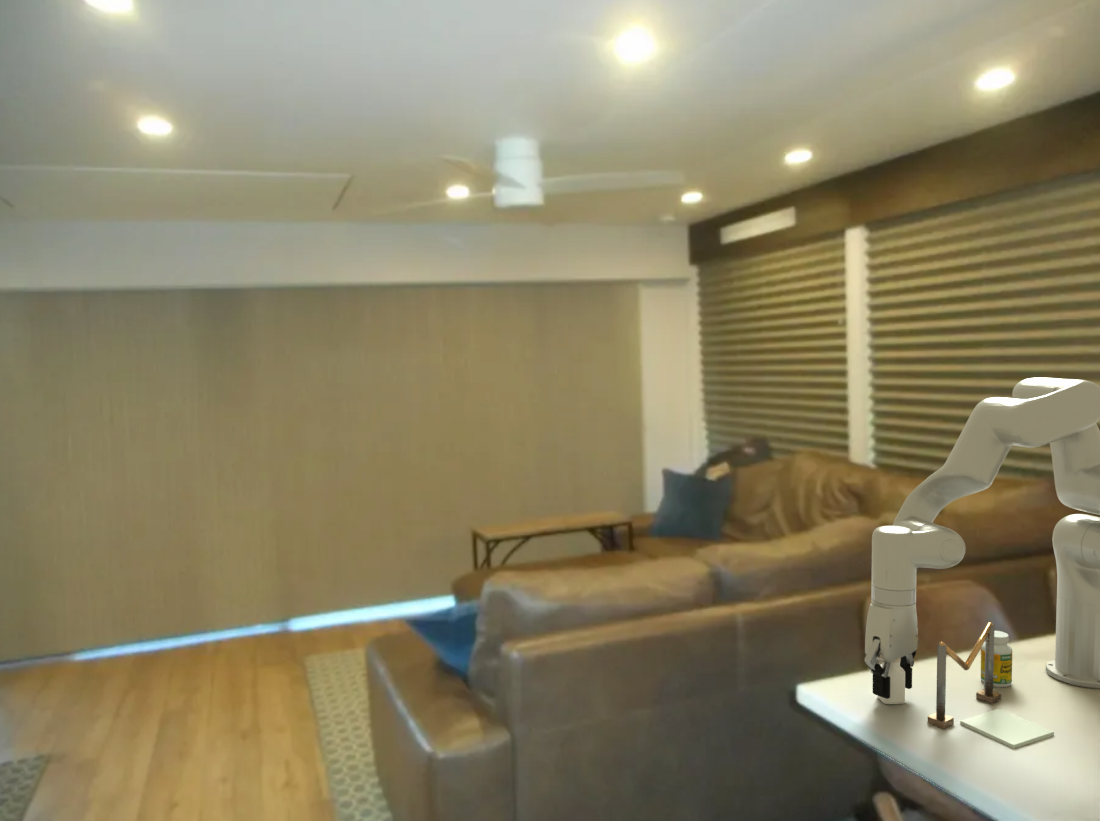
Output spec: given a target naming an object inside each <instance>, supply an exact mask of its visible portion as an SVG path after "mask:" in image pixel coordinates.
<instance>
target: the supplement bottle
mask: <svg viewBox="0 0 1100 821" xmlns="http://www.w3.org/2000/svg"><path fill="white" fill-rule="evenodd" d="M1009 636H1010V635H1009V634H1008V632H1007V633H1006V632H1004V631H1002V630H1001V631H1000V630H994V670H993V688H1006V687H1007V688H1008V687H1010V686H1011V685H1012V682H1013V648H1012V646H1011V645H1010V644H1009V642H1010V641H1009V640H1010V637H1009ZM980 680H981V681H982V683H984V684H985V642H984V643H983V645H982V647H981V649H980Z"/></svg>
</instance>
